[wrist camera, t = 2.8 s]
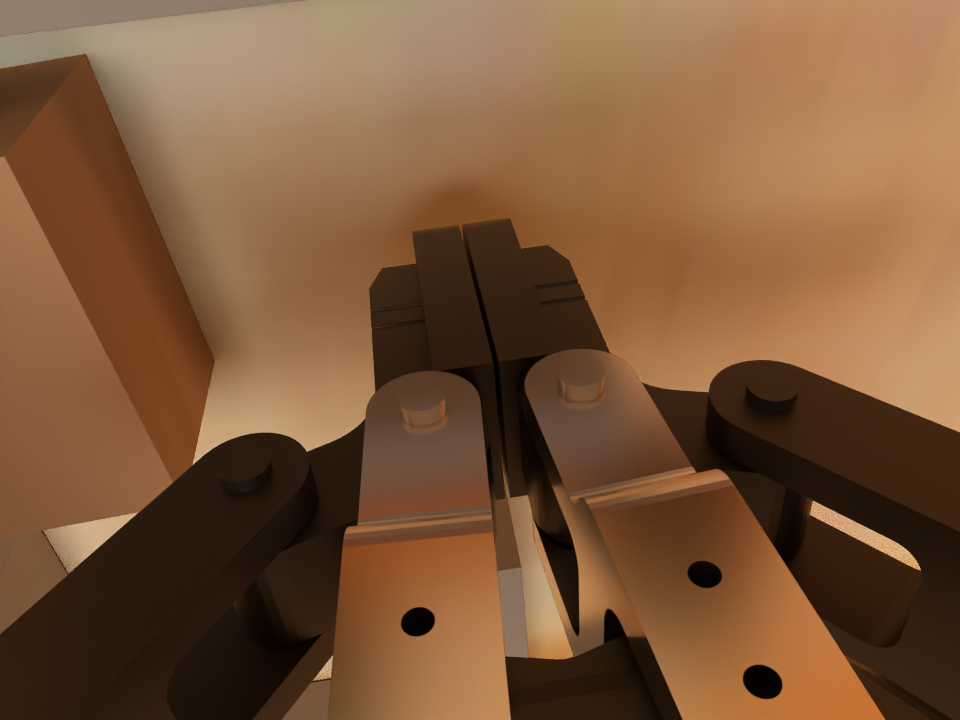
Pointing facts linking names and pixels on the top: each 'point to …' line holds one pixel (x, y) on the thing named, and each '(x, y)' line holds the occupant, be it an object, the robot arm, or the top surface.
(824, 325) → the top surface
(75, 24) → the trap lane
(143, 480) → the walnut block
